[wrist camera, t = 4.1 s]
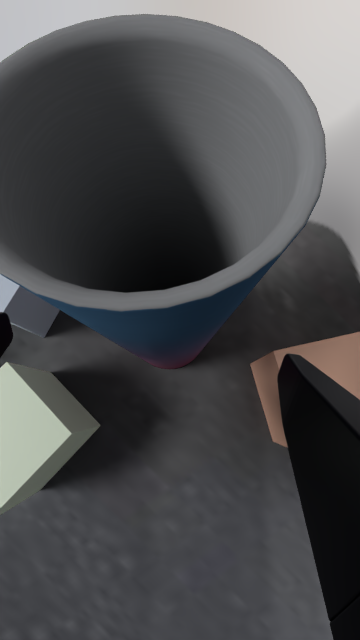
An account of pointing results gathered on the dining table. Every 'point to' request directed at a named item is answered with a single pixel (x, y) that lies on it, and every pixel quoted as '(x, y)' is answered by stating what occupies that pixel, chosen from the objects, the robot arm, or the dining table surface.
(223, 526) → the dining table surface
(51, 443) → the block sage
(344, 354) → the block terracotta
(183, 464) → the dining table surface
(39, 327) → the block slate
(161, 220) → the cup
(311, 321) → the dining table surface
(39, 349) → the dining table surface
